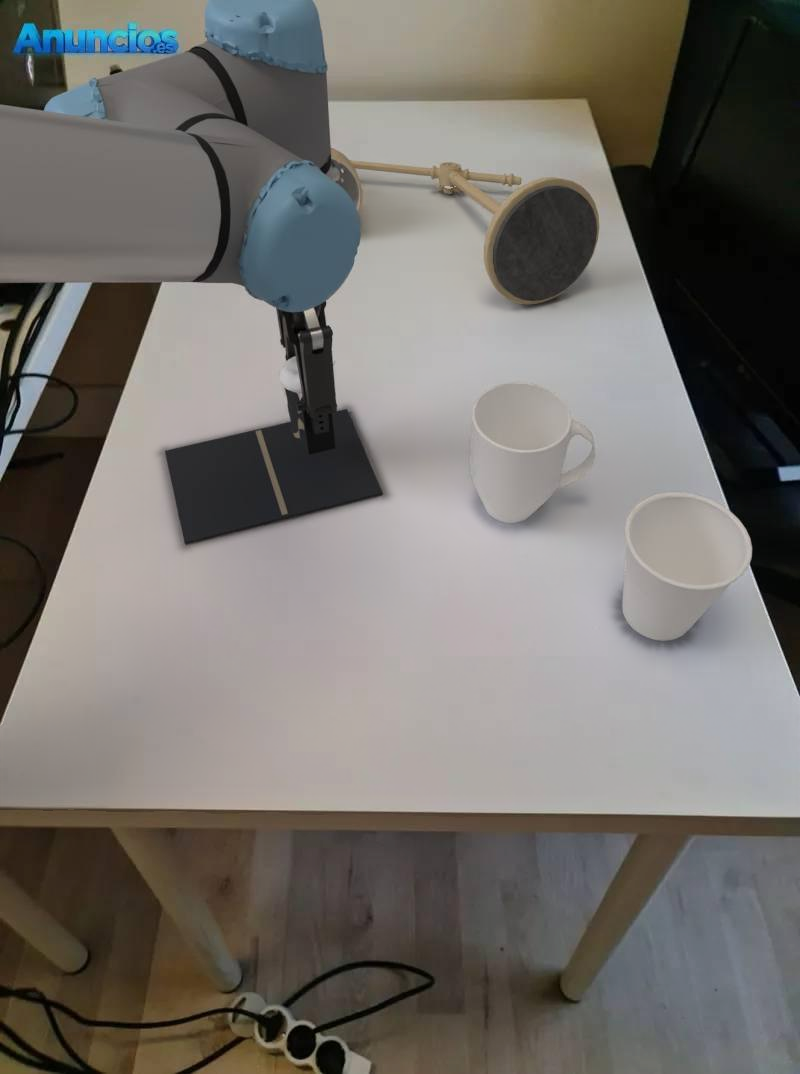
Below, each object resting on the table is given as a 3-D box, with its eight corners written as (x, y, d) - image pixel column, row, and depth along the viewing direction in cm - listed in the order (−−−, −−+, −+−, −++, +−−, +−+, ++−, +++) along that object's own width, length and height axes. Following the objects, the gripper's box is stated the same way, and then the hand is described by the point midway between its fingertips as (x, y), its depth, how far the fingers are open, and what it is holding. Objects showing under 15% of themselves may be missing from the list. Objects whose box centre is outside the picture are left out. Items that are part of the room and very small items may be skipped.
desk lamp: (626, 176, 96) (479, 96, 124) (339, 196, 85) (250, 103, 114) (599, 298, 105) (468, 198, 134) (339, 330, 95) (257, 214, 123)
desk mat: (185, 544, 80) (184, 541, 80) (165, 453, 88) (164, 450, 87) (382, 494, 84) (382, 491, 83) (347, 411, 92) (346, 408, 91)
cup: (603, 561, 78) (627, 483, 70) (711, 578, 77) (749, 501, 68) (597, 650, 72) (622, 577, 64) (714, 671, 71) (756, 598, 62)
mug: (469, 539, 80) (477, 452, 71) (460, 472, 86) (467, 383, 76) (589, 534, 80) (613, 447, 71) (573, 468, 86) (593, 378, 77)
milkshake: (334, 454, 82) (328, 379, 74) (282, 447, 82) (270, 371, 74) (345, 421, 85) (340, 345, 77) (294, 414, 85) (284, 338, 77)
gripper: (366, 269, 61) (376, 483, 79) (307, 158, 71) (328, 371, 89) (265, 289, 59) (299, 503, 78) (220, 173, 70) (260, 386, 88)
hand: (315, 432), depth 83 cm, fingers closed on milkshake, 4 cm apart
